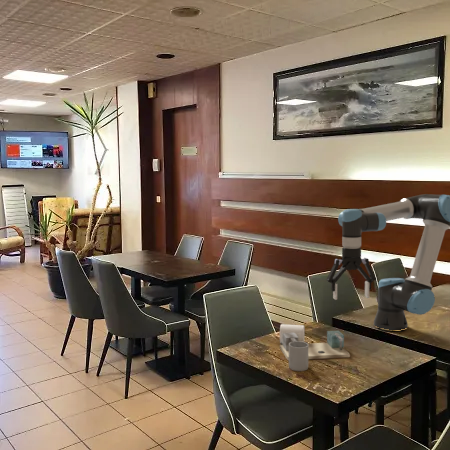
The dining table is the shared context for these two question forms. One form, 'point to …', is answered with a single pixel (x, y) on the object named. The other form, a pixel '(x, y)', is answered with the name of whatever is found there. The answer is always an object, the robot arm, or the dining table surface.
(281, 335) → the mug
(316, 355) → the board
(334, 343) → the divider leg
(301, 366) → the cup
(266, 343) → the dining table surface
